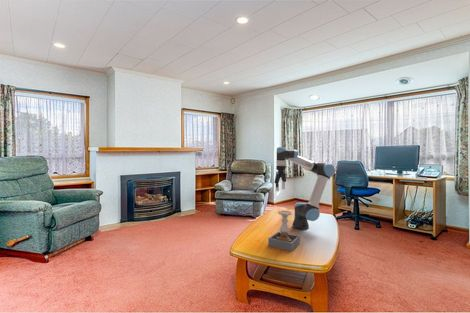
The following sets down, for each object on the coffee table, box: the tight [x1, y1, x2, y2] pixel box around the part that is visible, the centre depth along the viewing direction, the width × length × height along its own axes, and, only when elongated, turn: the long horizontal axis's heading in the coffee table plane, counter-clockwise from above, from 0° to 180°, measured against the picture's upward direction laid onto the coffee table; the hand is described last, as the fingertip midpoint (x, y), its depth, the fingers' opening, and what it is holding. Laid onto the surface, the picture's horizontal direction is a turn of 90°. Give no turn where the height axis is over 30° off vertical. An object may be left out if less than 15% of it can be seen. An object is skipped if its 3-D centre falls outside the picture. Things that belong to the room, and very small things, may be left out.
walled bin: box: [267, 231, 301, 252], centre depth 195 cm, size 18×18×6 cm
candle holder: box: [276, 210, 292, 243], centre depth 194 cm, size 11×11×24 cm
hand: (280, 190), depth 216 cm, fingers open, 13 cm apart
